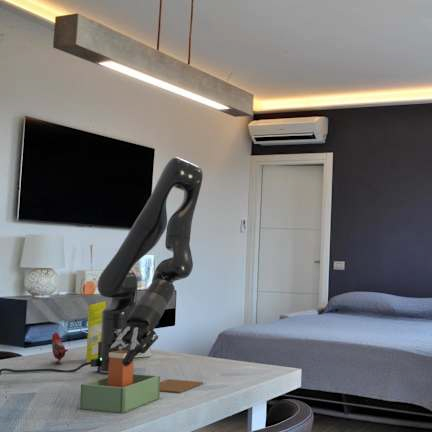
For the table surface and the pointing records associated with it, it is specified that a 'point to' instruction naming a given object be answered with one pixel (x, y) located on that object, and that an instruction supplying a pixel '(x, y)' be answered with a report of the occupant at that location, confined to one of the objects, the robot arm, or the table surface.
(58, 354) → the decorative bird figurine
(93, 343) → the food package
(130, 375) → the tea packet
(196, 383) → the cork mat
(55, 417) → the table surface
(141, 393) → the bin
